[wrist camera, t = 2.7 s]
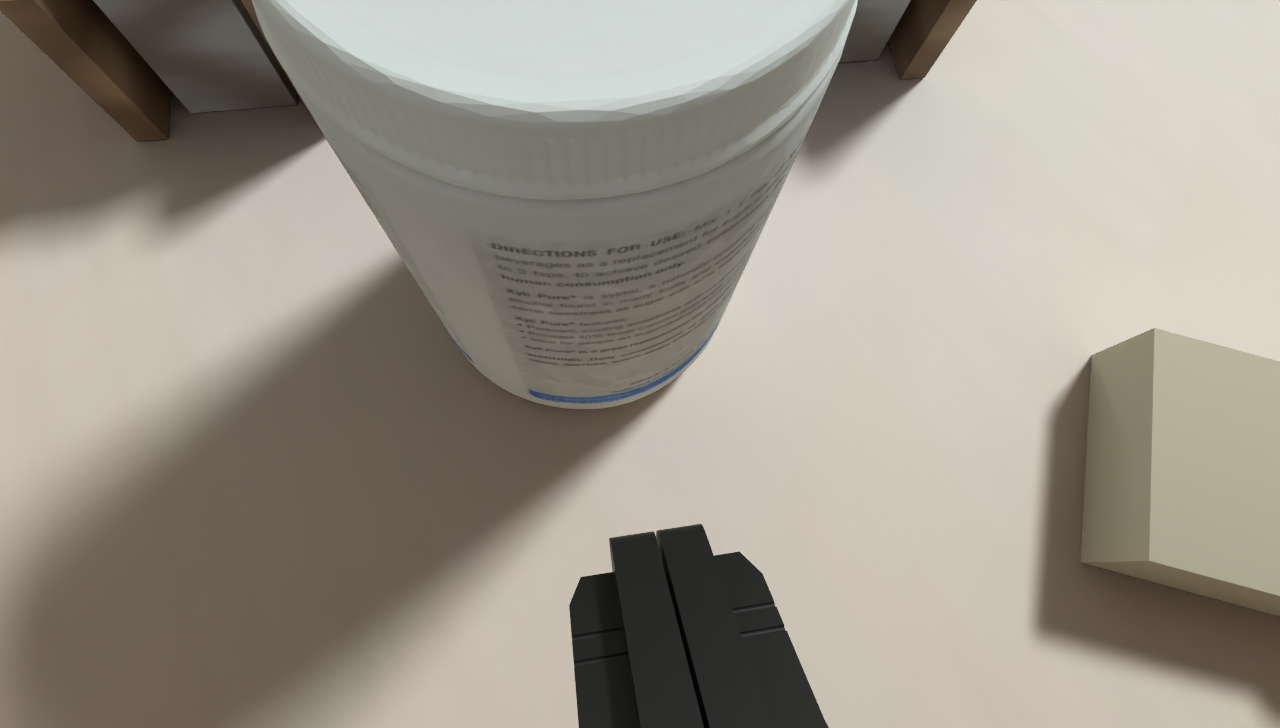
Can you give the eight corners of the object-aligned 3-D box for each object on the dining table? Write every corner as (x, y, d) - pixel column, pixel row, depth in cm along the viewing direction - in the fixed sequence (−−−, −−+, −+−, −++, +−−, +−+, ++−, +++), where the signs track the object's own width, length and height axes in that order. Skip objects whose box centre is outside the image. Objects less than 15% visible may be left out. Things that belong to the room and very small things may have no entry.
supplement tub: (760, 224, 24) (994, -254, 10) (656, 465, 21) (782, 261, 7) (515, 120, 25) (419, -467, 11) (382, 343, 22) (18, -63, 8)
